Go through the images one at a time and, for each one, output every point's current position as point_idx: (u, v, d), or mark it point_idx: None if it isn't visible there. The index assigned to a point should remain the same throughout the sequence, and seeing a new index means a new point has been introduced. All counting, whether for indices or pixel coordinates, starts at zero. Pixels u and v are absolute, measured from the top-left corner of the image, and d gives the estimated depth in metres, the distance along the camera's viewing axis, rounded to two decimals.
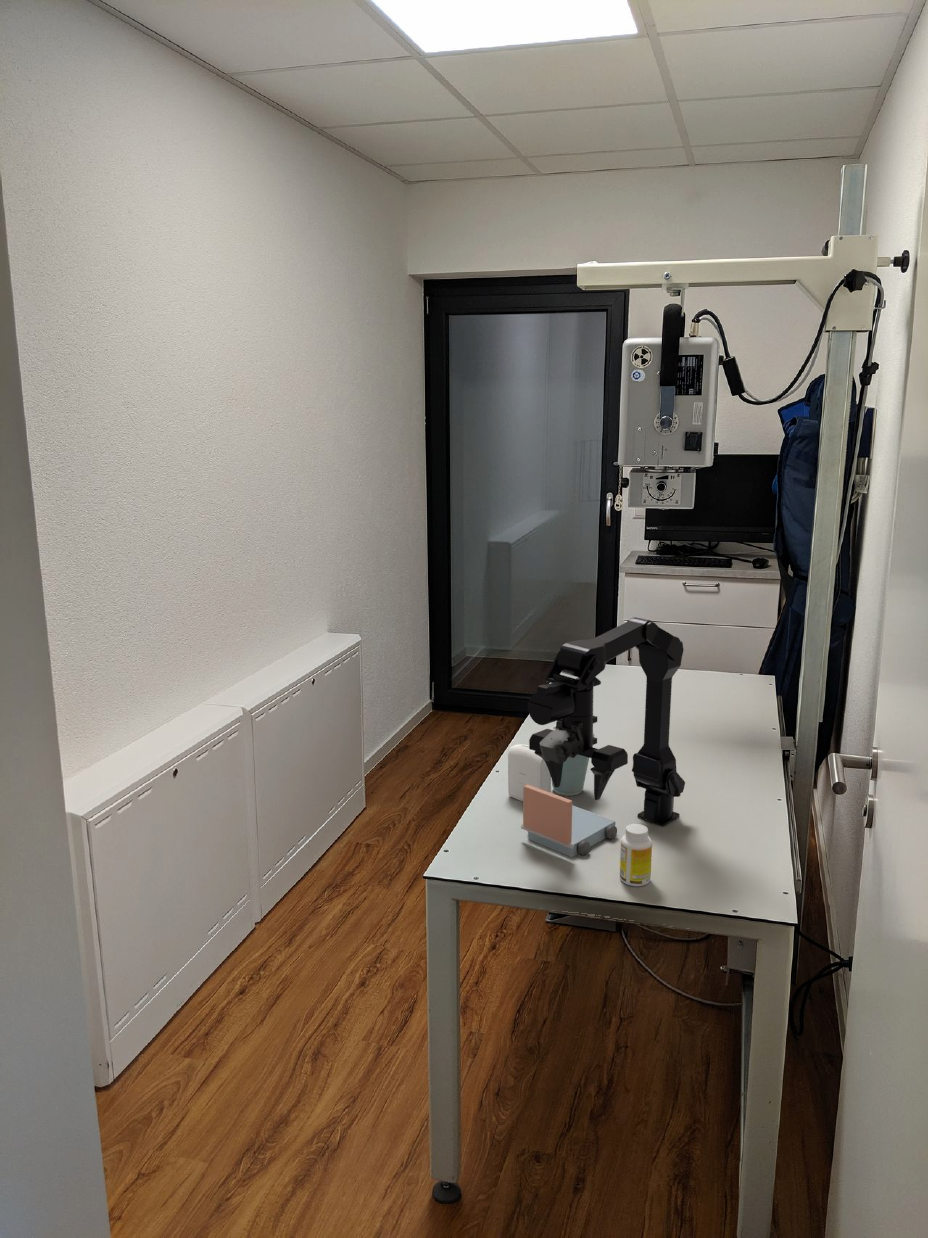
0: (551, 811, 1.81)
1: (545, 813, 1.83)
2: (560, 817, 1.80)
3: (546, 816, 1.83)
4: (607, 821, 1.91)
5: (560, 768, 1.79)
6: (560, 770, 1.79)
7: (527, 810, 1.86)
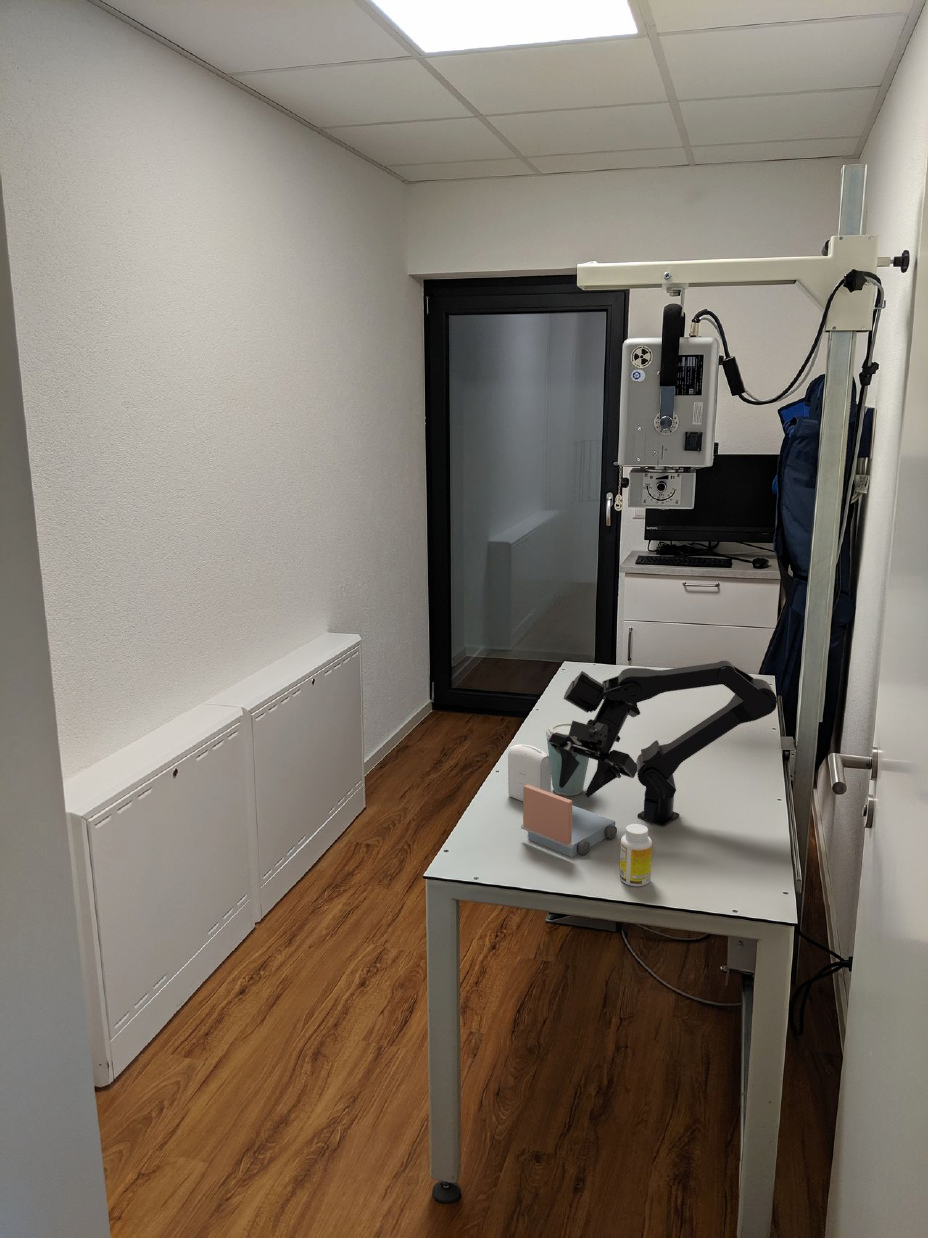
0: (551, 811, 1.81)
1: (545, 813, 1.83)
2: (560, 817, 1.80)
3: (546, 816, 1.83)
4: (607, 821, 1.91)
5: (570, 774, 1.92)
6: (569, 776, 1.92)
7: (527, 810, 1.86)
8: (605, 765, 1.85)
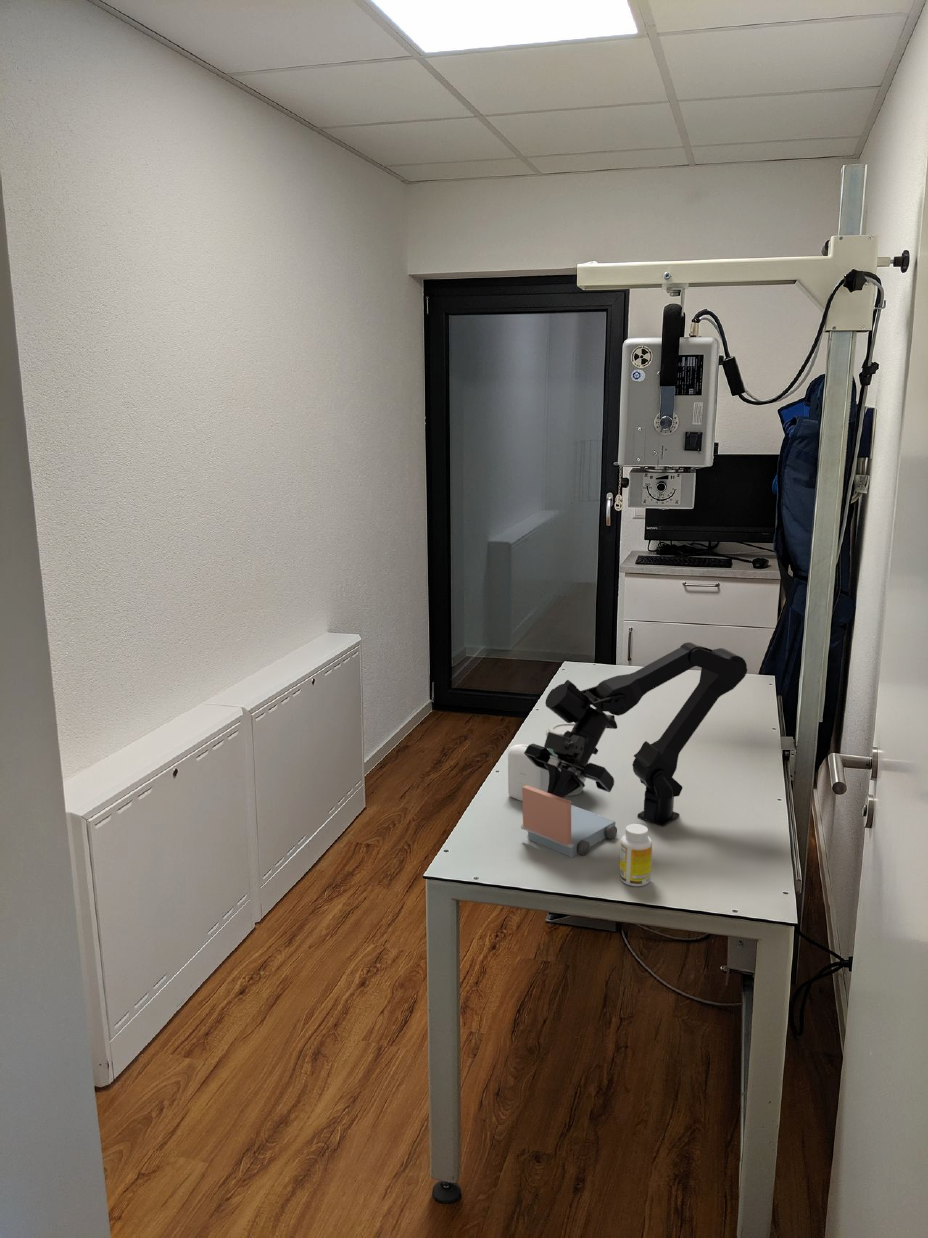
0: (550, 812, 1.81)
1: (544, 814, 1.83)
2: (559, 818, 1.80)
3: (545, 816, 1.82)
4: (607, 821, 1.91)
5: None
6: None
7: (526, 810, 1.86)
8: (568, 774, 1.82)
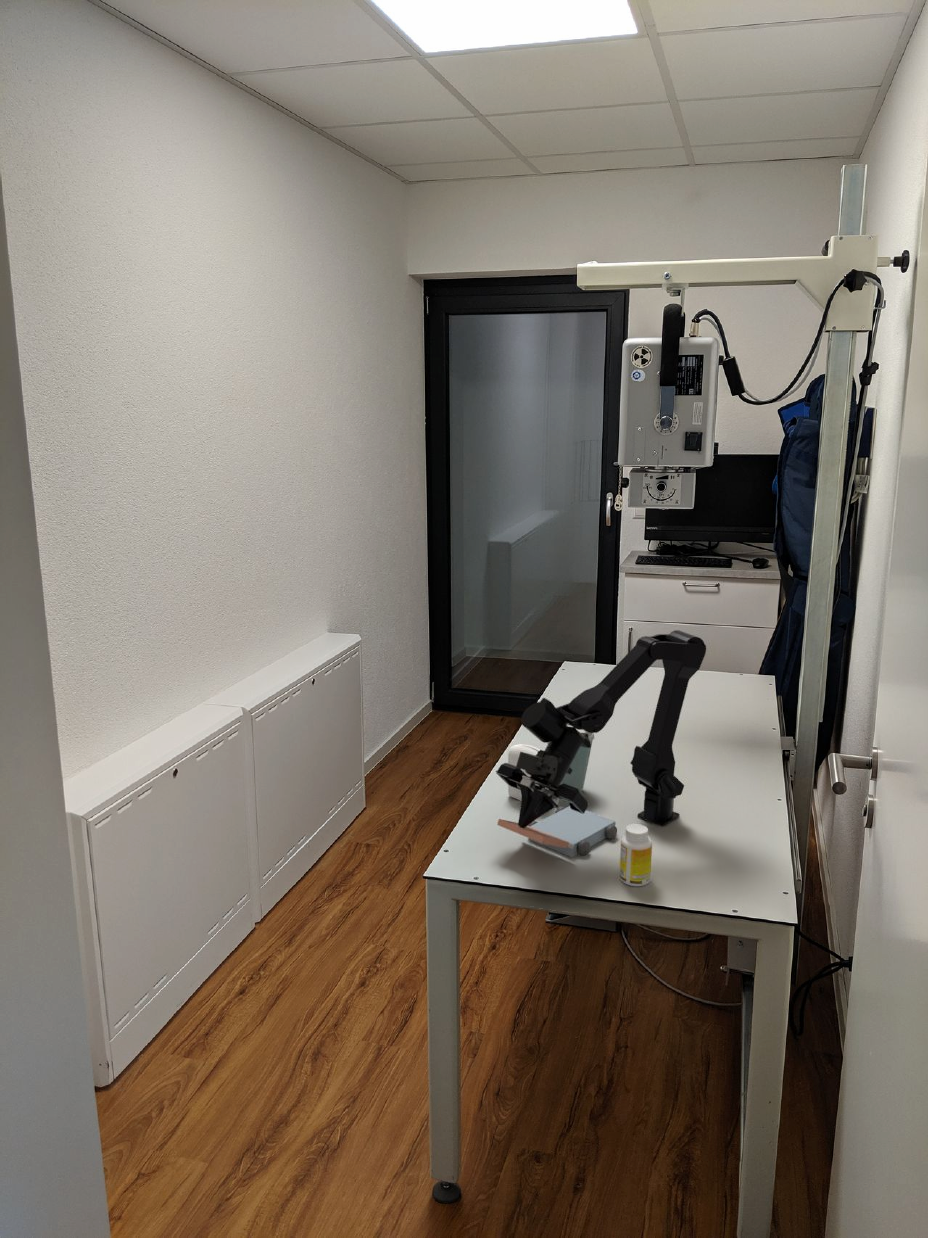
0: None
1: None
2: None
3: None
4: (607, 821, 1.91)
5: None
6: None
7: None
8: (541, 795, 1.77)
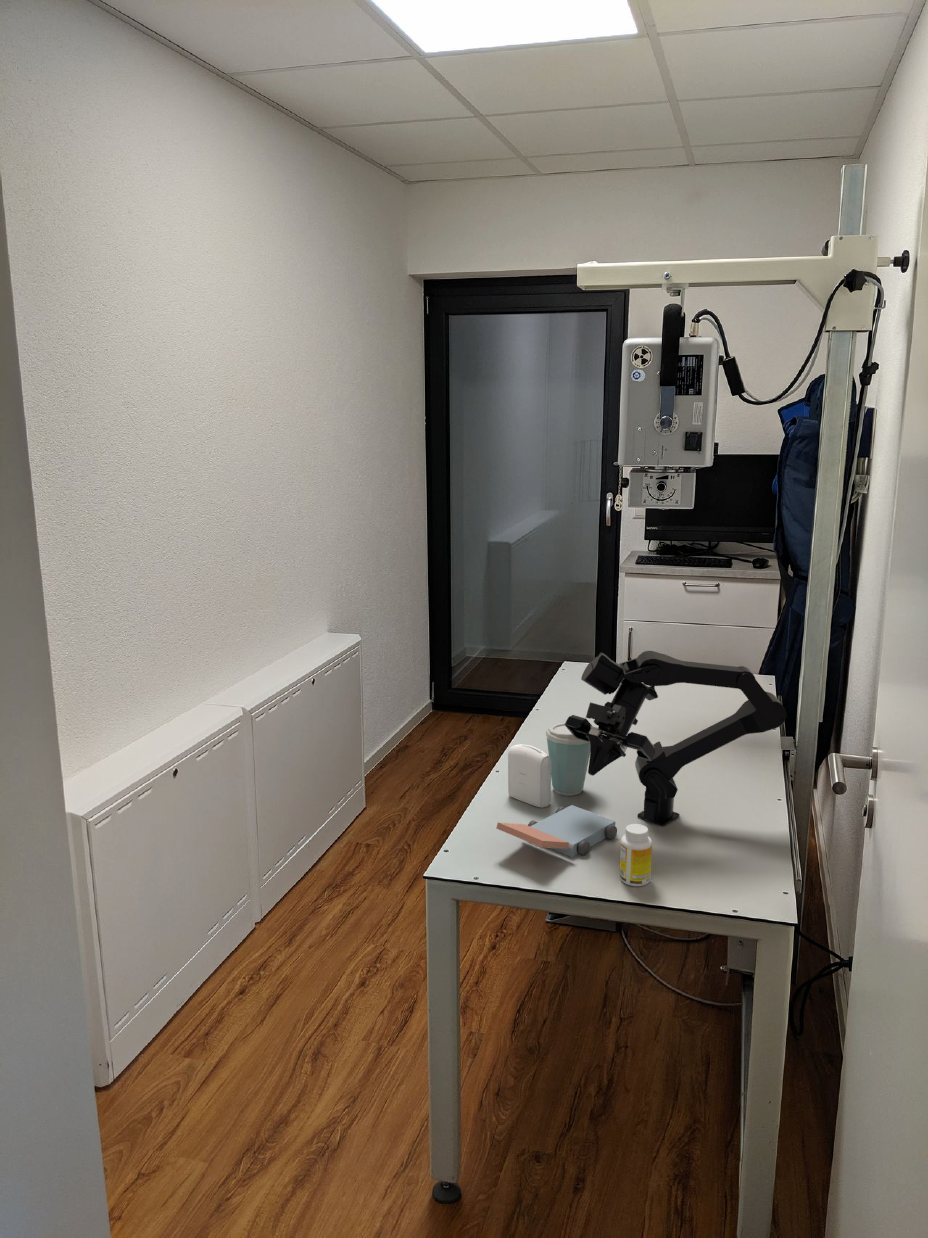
0: None
1: None
2: None
3: None
4: (607, 821, 1.91)
5: None
6: None
7: None
8: (610, 743, 1.85)
